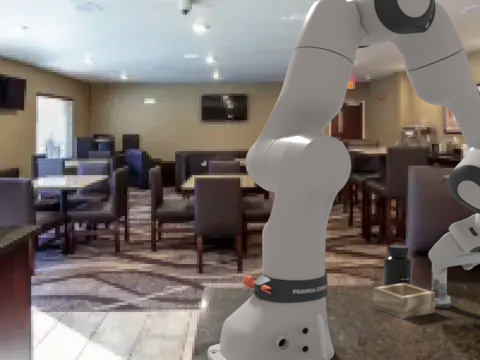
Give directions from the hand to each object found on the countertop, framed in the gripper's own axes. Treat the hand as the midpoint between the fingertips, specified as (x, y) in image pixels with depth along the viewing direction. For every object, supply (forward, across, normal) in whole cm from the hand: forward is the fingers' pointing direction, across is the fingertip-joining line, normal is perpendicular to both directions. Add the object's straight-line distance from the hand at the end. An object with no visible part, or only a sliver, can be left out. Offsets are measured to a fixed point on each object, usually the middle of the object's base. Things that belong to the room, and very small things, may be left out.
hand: (450, 269), depth 117 cm
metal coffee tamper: (+8, 0, +4) cm, 9 cm away
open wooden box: (+9, +10, +3) cm, 14 cm away
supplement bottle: (+17, +2, -4) cm, 17 cm away
